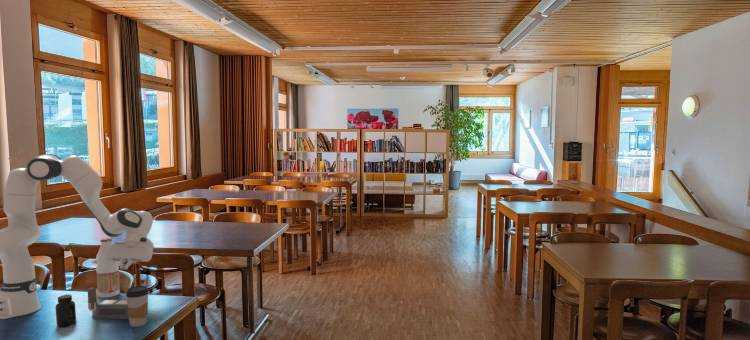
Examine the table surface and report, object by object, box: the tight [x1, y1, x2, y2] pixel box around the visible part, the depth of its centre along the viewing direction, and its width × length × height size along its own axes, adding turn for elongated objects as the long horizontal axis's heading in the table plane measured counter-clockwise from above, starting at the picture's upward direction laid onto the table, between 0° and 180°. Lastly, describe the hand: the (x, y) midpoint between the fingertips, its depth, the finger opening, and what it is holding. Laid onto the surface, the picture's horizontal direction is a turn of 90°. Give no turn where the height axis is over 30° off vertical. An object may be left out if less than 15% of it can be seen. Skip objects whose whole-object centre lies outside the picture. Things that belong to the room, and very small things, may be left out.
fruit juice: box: [95, 237, 121, 299], centre depth 226 cm, size 9×9×28 cm
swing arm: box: [87, 286, 100, 312], centre depth 193 cm, size 18×3×8 cm, turn 29°
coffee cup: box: [125, 285, 149, 328], centre depth 191 cm, size 8×8×15 cm
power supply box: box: [91, 299, 129, 320], centre depth 200 cm, size 18×6×8 cm, turn 88°
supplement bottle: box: [54, 294, 77, 329], centre depth 191 cm, size 7×7×12 cm
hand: (123, 268), depth 210 cm, fingers closed
